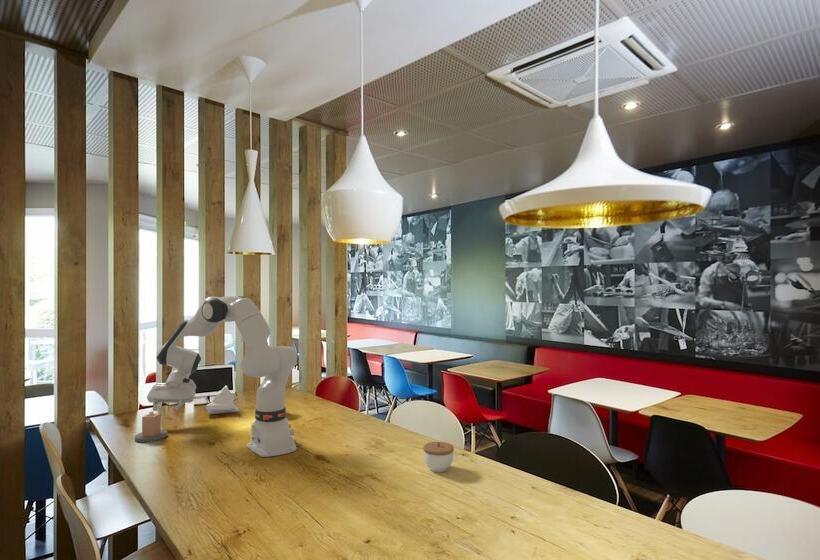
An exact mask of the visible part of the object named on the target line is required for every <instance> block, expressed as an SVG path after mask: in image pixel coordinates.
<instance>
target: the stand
mask: <svg viewBox="0 0 820 560" xmlns="http://www.w3.org/2000/svg"><path fill="white" fill-rule="evenodd" d="M154 412H155V411H153V410H151V411H149V413H148V414H149V416H154V414H155V413H154ZM165 437H166V438H167V437H168V430H166V429H161V432H160V433H159V434H157V435H155V436H142V431H141V432H139V433H136V434H135V435H134V442H136V443H139V442H143V443H142V444H144V443H145V444H146V443H147V442H148V443H154V441H155V442H159V441H161V439H162V440H164V439H166V438H165ZM163 438H164V439H163ZM158 440H159V441H158Z"/></svg>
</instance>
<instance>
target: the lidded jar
mask: <svg viewBox="0 0 820 560" xmlns="http://www.w3.org/2000/svg"><path fill="white" fill-rule="evenodd" d="M454 451H455V449H454V445H453V444H451V443H449V442H446V441H445V442H444V441H431V442H430V441H429V442H427V443H425V444H424V445H423V459H424V462H425V464H426V466H427V467H428V468H429V470H430V471H432V472H434V473H443V472H446V471H447V470H448V469H449V468H450V466H451V465H452V462H453V459H454Z"/></svg>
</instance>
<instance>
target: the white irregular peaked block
mask: <svg viewBox="0 0 820 560" xmlns="http://www.w3.org/2000/svg"><path fill="white" fill-rule="evenodd" d="M234 398H235V396H234V395H233V393H232V392H231V391H230V389H229V388H228V385H225V386H224V387H223V388H222V389H221V390H219V391H218V392H217V395H216V396H215V397H214V398H213V400H212V401H211V402H210V403H208V404H206V405H205V410H206V412H207V413H208V414H209V415H216V414H229V413H239V411H240V410H239V409H240V408H239V407H238V406H237V405H236V404H235V403H234V400H235V399H234Z"/></svg>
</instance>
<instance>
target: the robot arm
mask: <svg viewBox="0 0 820 560" xmlns="http://www.w3.org/2000/svg"><path fill="white" fill-rule="evenodd" d="M225 322H226V323H230V322H234V323H235V326H236V327H237V329H238V331H239V333H240V335H241V337H242V340H243V341H244V345H245V354H244V356H243V357H242V361H241V369H242V371H243V373H244V374H245V376H247V377H249V378H264V379H263V381H262V382H261V383H260V384H261V385H260V384H259V385H260V386H259V385H258V388H257V390H256V409H255V411H254V419H255V420H254V421H253V423H252V424H251V427H250V442H247V443H246V448H247V449H248V450H250V451H252V452H253V453H254V454H256V455H257V456H259V457H261V458H262V457H263V458H265V457H267V458H269V457H276V456H280V455H281V456H282V455H286V454H289V453H293V452H296V451H297V445H296V441H295V438H294V435H295V433H294V432H295V431H294V429H290V428H291V427H292V425H291V424H289V419H288V418H287V410H286V409H287V407H286V406H285V403H286V401H285V400H286V399H285V398H286V386H287V384H288V383H287V382H288V379H289V376H290V374H291V371H292V370H293V368H294V367H295V366H296V364H297V363H298V354H297V352H296V350H295V349H294V348H293V347H292V346H286V345H278V346H271V347H270V346H269V344H268V339H269V337H270V335H271V329H270V327H269V325H268V323H267V321H266V319H265V318H264V316H263V313H262V312H261V311H260V309H259V308H258V306H257V305H256V303H255V302H254V301H253V300H252V299H251V298H249V297H247V296H241V295H239V296H229V295H228V296H220V297H217V296H209V297H206V298H205V299H204V300H203V301H202V302H201V304H200V306H199V307H198V308H197V310H196V312H195V314H194V316H192V317H191V318H189V319H184V320H183V321H181V322H180V324H179V325H178V326H177V327H176V329H175V330H174V331H173V333H172V334H171V336H170V337H169V338H168V339H167V340H166V342H164V344H163V345H162V346H161V347H160V348H159V349H158V351H157V352H156V360H157V362H158V363H159V365H162V366H165V367H166V366H167V367H168V366H169V367H171V372H170V373H169V375H168V377H167V379H166V381H165V382H162V383H160V382H158V383H156V384H154V385H152V387H151V389H150V390H149V392H148V394H147V395H146V400H147V401H148V402H149V403H151V404H153V407H152V411H154V412H155V411H156V412H157V411H158V409H159V406H158V405H159V404H160V403H166V404H167V403H171V404H175V403H176V404H177V405H174V407H173V410H174V412H175V411H176V412H179V410H180V408H182V406H184V404H185V403H186V404H188V403H189V404H190V403H192V402H193V401H194V399H195V396H196V390H197V385H196V383H195V382H194V380H193V379H191V378H189V377H190V376H191V375H192V374H194V373H195V372H197V370H198V369H199V364H200V363H201V361H202V357H201V355H200V353H199V352H197V351H194V350H191V349H188V348H185V347H181V346H178V345H177V344H178V343H179V342H180V341H181V339H182V338H184V337H206V336H209V335H210V336H211V335H212V334H213V333H215V332H216V330H217V329H218V327H219V325H220V323H225Z"/></svg>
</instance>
